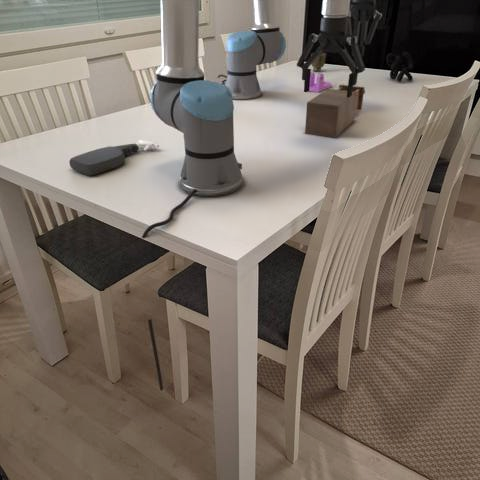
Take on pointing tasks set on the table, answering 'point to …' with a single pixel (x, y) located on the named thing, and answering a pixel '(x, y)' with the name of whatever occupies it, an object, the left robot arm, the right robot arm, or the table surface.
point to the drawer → (359, 96)
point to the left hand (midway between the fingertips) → (327, 94)
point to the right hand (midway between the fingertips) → (356, 66)
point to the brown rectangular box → (330, 113)
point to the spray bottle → (106, 157)
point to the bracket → (318, 83)
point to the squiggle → (399, 66)
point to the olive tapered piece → (319, 62)
